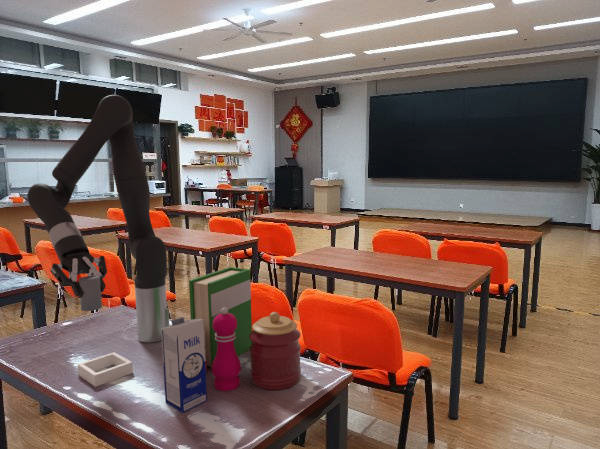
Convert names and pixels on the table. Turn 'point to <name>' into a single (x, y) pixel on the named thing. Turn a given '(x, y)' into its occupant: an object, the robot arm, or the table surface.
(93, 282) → the peg
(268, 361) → the canister
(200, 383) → the milk carton
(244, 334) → the hardback book
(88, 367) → the socket
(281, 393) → the table surface
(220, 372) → the pepper mill
